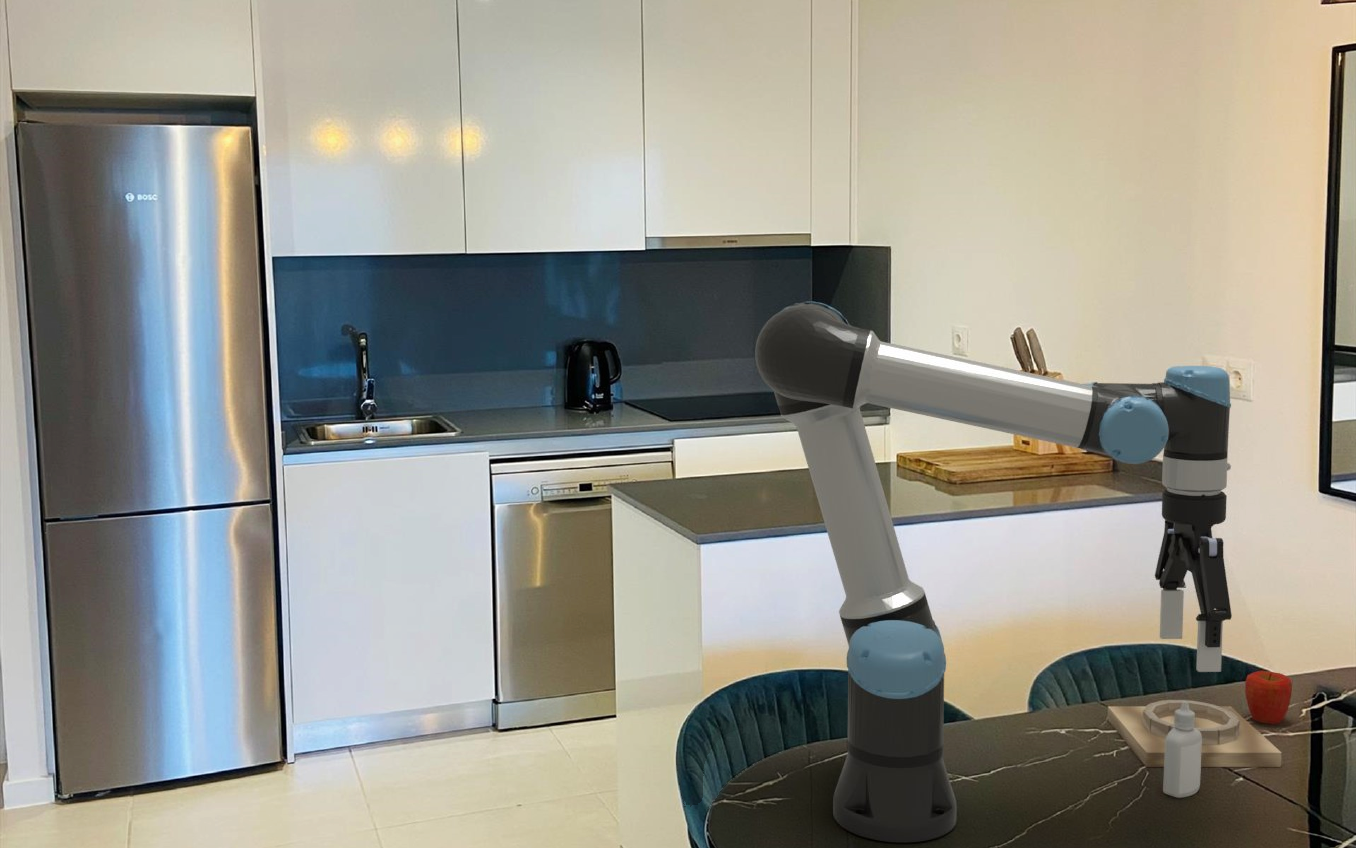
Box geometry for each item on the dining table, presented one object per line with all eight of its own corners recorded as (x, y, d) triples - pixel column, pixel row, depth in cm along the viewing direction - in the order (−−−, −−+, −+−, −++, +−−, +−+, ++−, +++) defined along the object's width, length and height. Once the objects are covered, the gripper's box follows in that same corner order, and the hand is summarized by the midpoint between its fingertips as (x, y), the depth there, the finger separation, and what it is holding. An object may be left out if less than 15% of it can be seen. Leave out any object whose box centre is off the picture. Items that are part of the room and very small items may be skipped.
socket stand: (1146, 766, 178) (1147, 738, 178) (1107, 719, 196) (1108, 693, 196) (1280, 767, 178) (1282, 738, 177) (1229, 719, 196) (1231, 693, 195)
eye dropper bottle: (1210, 796, 169) (1215, 706, 167) (1170, 799, 168) (1174, 709, 166) (1192, 782, 173) (1196, 694, 171) (1152, 786, 172) (1156, 697, 170)
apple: (1255, 730, 191) (1257, 680, 190) (1236, 715, 197) (1238, 666, 196) (1298, 729, 191) (1300, 679, 190) (1277, 714, 198) (1280, 666, 197)
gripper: (1265, 509, 153) (1258, 685, 155) (1189, 472, 177) (1184, 625, 180) (1199, 509, 153) (1194, 686, 156) (1133, 473, 178) (1129, 626, 180)
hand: (1189, 654), depth 168 cm, fingers open, 13 cm apart
